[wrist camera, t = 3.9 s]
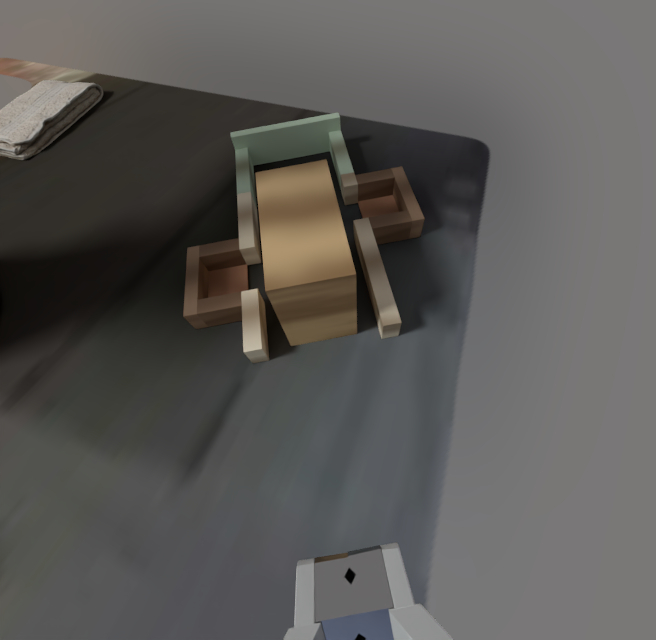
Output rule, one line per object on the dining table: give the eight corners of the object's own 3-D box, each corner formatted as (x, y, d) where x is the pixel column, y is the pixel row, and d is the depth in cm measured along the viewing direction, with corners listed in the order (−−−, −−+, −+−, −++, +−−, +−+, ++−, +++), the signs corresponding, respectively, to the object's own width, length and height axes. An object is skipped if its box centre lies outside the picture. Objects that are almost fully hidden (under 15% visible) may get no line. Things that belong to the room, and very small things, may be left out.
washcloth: (-25, 155, 49) (-47, 135, 46) (56, 91, 57) (40, 71, 54) (32, 166, 46) (12, 145, 44) (109, 97, 54) (95, 76, 51)
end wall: (341, 149, 41) (339, 117, 38) (241, 167, 41) (230, 137, 38) (340, 144, 42) (338, 112, 38) (241, 163, 42) (230, 132, 38)
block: (357, 334, 29) (356, 274, 21) (291, 346, 29) (265, 291, 21) (334, 235, 35) (326, 159, 27) (279, 245, 35) (255, 172, 27)
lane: (456, 324, 28) (464, 310, 26) (194, 374, 28) (180, 364, 26) (381, 141, 41) (382, 122, 39) (201, 175, 41) (193, 157, 39)
